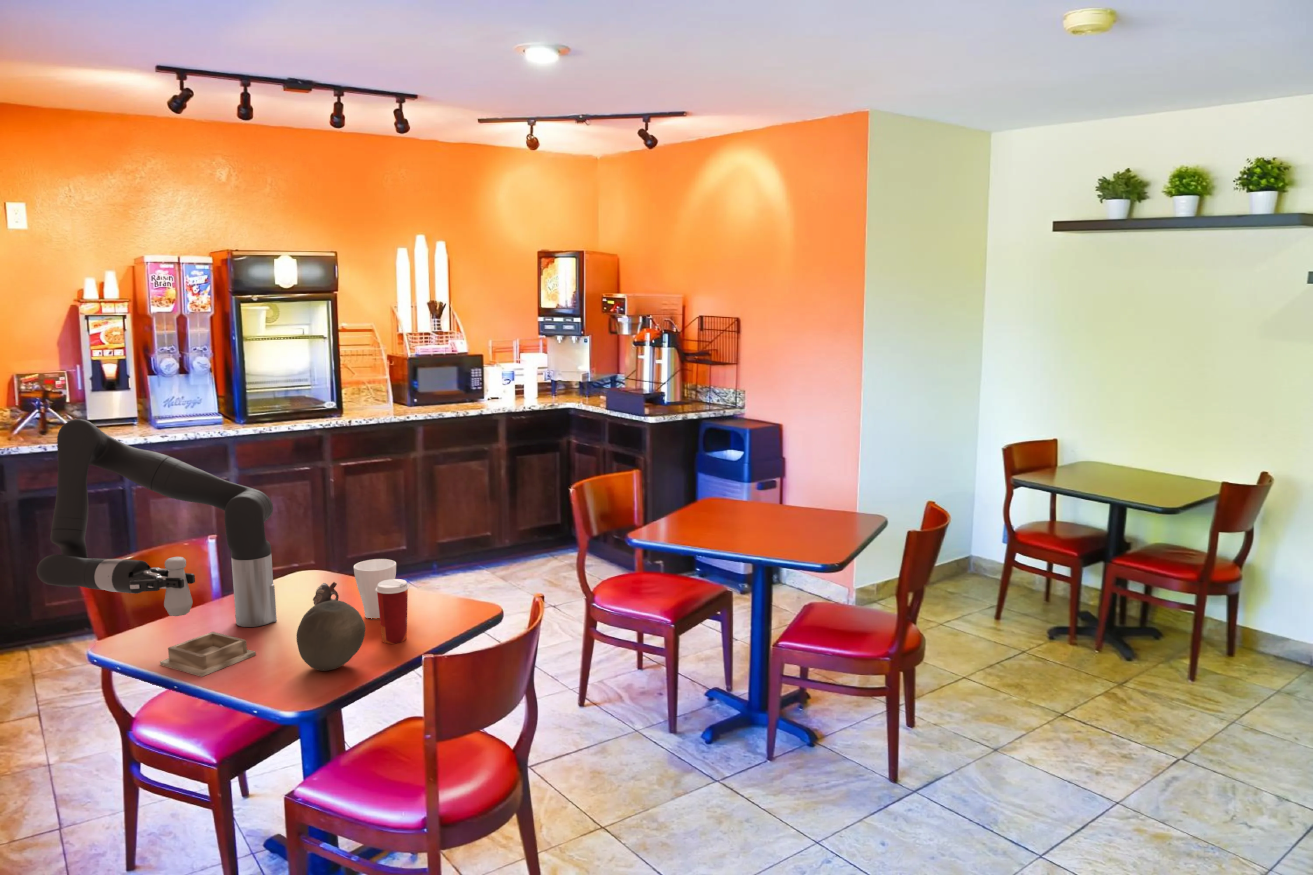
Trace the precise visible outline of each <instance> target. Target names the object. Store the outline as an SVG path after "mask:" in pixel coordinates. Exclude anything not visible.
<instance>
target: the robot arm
mask: <svg viewBox="0 0 1313 875" xmlns="http://www.w3.org/2000/svg"><path fill="white" fill-rule="evenodd" d="M56 438H57V440H56V441H57V442H56V445H57V446H56V447H57V483H56V485H57V487H56V496H55V504H54V511H53V517H52V523H51V531H50V535H49V536H50V537H49V538H50V542H51V543H52V544H54V545H56V547H57V546H58V548H59V549H60V552H61V554H55V553H53V554H50V555H47V556H45V557H44V558H43V559H41V560H40V561H39V563H38V564H37V566H36V576H37V578H38V580H40V581H41V582H42V583H44V584H46V585H50V586H57V587H62V588H63V587H65V588H75V587H80V588H81V587H82V588H86V589H89V590H90V589H91V590H92V589H93V590H102V591H104V590H105V591H108V592H113V593H115V592H116V593H124V594H137V595H138V594H140V593H143V592H158V591H160V589H164V590H166V588H169V587H172V588H180V589H181V588H183V587H184V579H183V578H168V573H169V570H167V569H166V568H160V567H157V566H156V567H155V566H154V567H151V566H150V565H149V563H147V562H146V561H145V560H138V559H126V558H99V557H97V558H96V557H95V558H94V557H93V558H88V557H89V555H88V550H87V549H88V548H87V544H86V543H87V542H86V533H87V526H88V519H89V495H88V494H89V493H88V492H89V491H88V474H89V465H90V466H93V467H97V468H101V469H103V470H106V471H110V472H113V473H115V474H118V475H120V476H121V477H124V478H125V479H127V480H130V481H131V482H133V483H135V484H136V485H138V486H141V487H144V488H145V489H148V490H150V491H151V492H152V491H153V493H157V494H159V495H162V496H164V497H167V498H170V499H173V500H178V501H183V502H189V503H196V504H203V505H209V506H211V507H214V508H218V509H219V510H221V511H223V512H224V526H225V536H226V542H227V547H228V548H229V550H230V558H231V570H232V571H231V572H232V573H231V574H232V584H233V585H232V586H233V587H232V588H233V598H234V614H235V615H234V617H235V625H237V626H239V627H243V628H253V627H254V628H255V627H262V626H265V625H269V624H272V623H274V622H275V623H276V622H278V620H277V618H278V617H277V605H276V602H277V601H276V590H275V589H276V586H275V584H274V576H273V575H274V573H273V560H272V547H271V546H272V545H271V543H270V541H268V540H267V539H266V530H265V522H266V521H268V520H269V519H270V518H271V516H272V514H273V511H274V505H273V501H272V500H271V498H270V497H269V496H268V495H267V494H266V493H264V492H263V491H261V490H259V489H255V488H254V487H253V488H252V487H249V486H246V485H242V484H237V483H236V482H232V481H230V480H229V481H228V480H227V479H226V480H225V479H223V478H220V477H218V476H216V475H214V474H212V473H209V472H207V471H204V470H203V469H200V468H197V467H195V466H193V465H191V464H189V463H186V462H184V461H182V460H180V459H177V458H175V457H172V456H169V455H167V454H163V453H160V452H157V451H152V450H147V449H142V448H137V447H134V446H131V445H128V444H126V443H124V442H122V441H121V440H118V439H116V438H114V437H112V436H110V435H108V434H106V433H105V432H104V431H103V430H101V429H100V428H99V427H97V426H96V425H95V424H94V423H92V422H90V421H89V420H87V419H81V418H78V419H77V418H76V419H71V420H70V421H69V420H68V421H67V422H65V423H64V424H63V425H61V427H60V429H59V430H58V432H57V437H56ZM185 575H186V579H187V582H188V585H189V584H190V585H191V584H194V583H196V578H195V577H196V575H195V574H194V573H191V572H185Z"/></svg>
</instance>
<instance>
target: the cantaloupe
mask: <svg viewBox="0 0 1313 875" xmlns="http://www.w3.org/2000/svg"><path fill="white" fill-rule="evenodd" d="M296 630H297V631H296V643H297V649H298V652H299V656H300V657H301V659H302V660H303V661H304V663H305V664H307V666H309V667H310V668H312V669H314V670H317V671H320V672H321V671H323V672H324V671H325V672H326V671H332V670H336V669H338V668H340V667H342V666H344V665H345V664H347V663H348V662H349V661H350V660H351V659H352V658H353V657H354V656H355V655H356V654H357V653H358V652H359V650H360V649H361V647H362V645H363V643H364V639H365V636H366V624H365V621H364V619H363V617H362V615H361V613H360V612H359V611H358V610H357V609H356V608H355V607H354V606H352V605H350V604H349V603H347V602H346V601H342V600H338V601H337V600H331V601H326V602H322V603H319V604H317V605H314V606H312V607H311V608H310V609H309V610H308V611H307V612H306V613H304V615H303V616H302V619H301V620H300V622H299V624H298V627H297V629H296Z"/></svg>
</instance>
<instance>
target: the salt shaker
mask: <svg viewBox="0 0 1313 875" xmlns="http://www.w3.org/2000/svg"><path fill="white" fill-rule="evenodd" d="M164 567H165V568H164V569H167V570H169V573H168V578H183V579H184V587H183V588H181V589H180V588H172V587H169V588H166V589H165V593H164V601H163V606H164V608H165V611H167V614H168V615H169V616H170V617H180V616H185V615H188V614H189V613H190V612H191V609H192V606H193V597H192V595H191V590H190V586H189V584H188V582H187V579H186V575H185V573H186V572H185V568H186V567H187V559H186V558H184V557H183V556H173V557H169V558H167V559H165V560H164Z"/></svg>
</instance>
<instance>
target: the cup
mask: <svg viewBox="0 0 1313 875" xmlns="http://www.w3.org/2000/svg"><path fill="white" fill-rule="evenodd" d="M353 572H354V573H353V574H354V579H355V583H356V586H357V591H358V593H359V595H360V599H361V602H362V606H363V611H364V617H365V618H366V619H368V618H371V619H370V620H373V619H372V618H380V614H379V605H378V596H377V592H376V588H377V585H378V583H379V582H381V581H384V580H390V579H396V577H397V576H396V574H397V562H396V561H395V560H392V559H387V558H374V559H367V560H363V561H360V562H357V563H355V564H354V565H353Z"/></svg>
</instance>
